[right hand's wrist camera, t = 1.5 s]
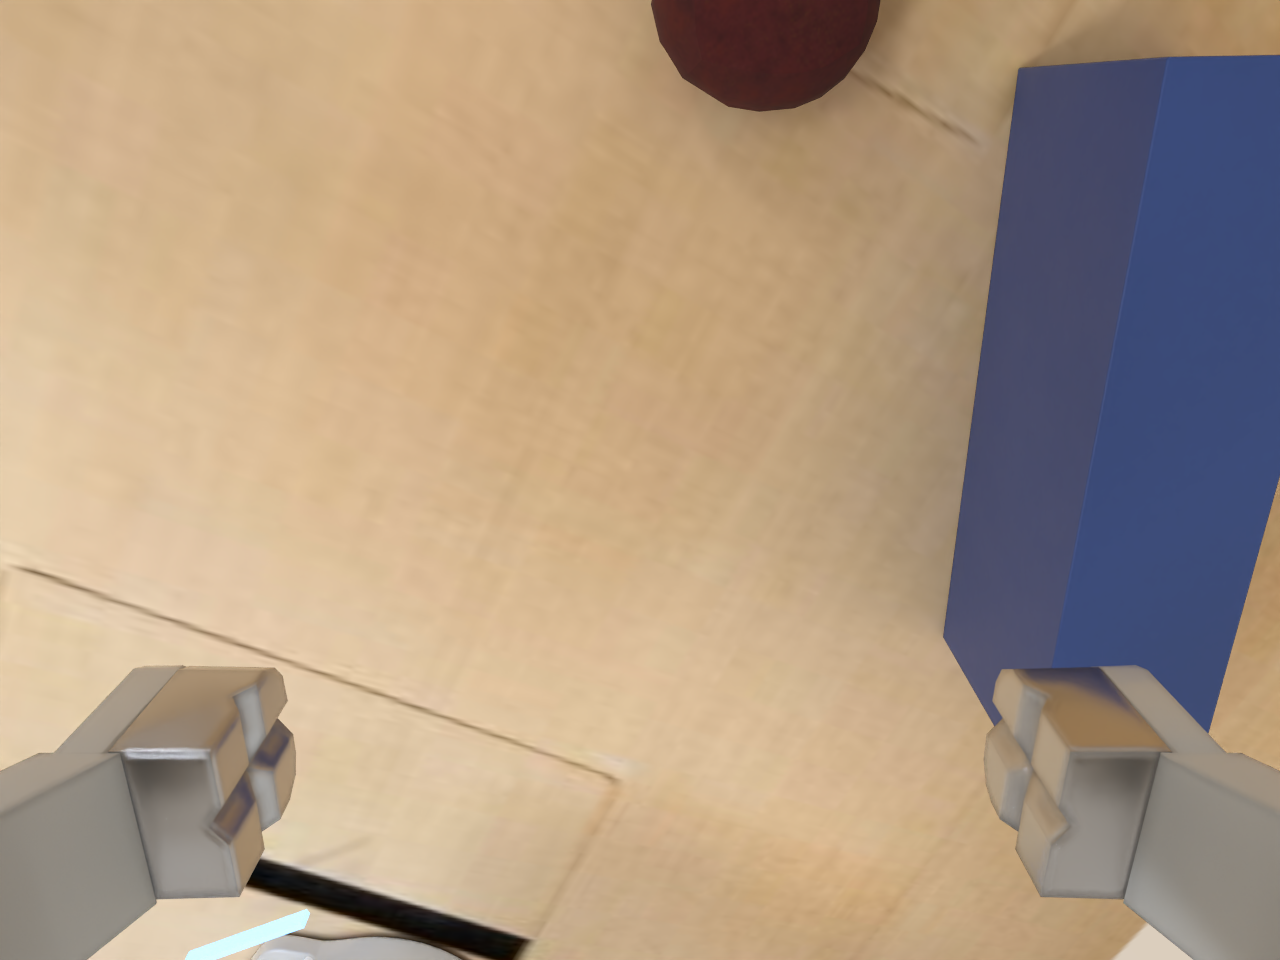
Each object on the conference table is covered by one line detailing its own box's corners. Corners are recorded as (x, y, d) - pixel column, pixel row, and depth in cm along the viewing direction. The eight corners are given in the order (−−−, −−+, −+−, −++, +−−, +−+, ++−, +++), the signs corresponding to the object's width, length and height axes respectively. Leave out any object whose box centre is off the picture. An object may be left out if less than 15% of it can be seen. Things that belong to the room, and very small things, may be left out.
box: (1018, 67, 36) (1167, 56, 26) (1184, 65, 36) (1398, 52, 26) (942, 637, 46) (1029, 788, 36) (1072, 635, 46) (1194, 785, 36)
